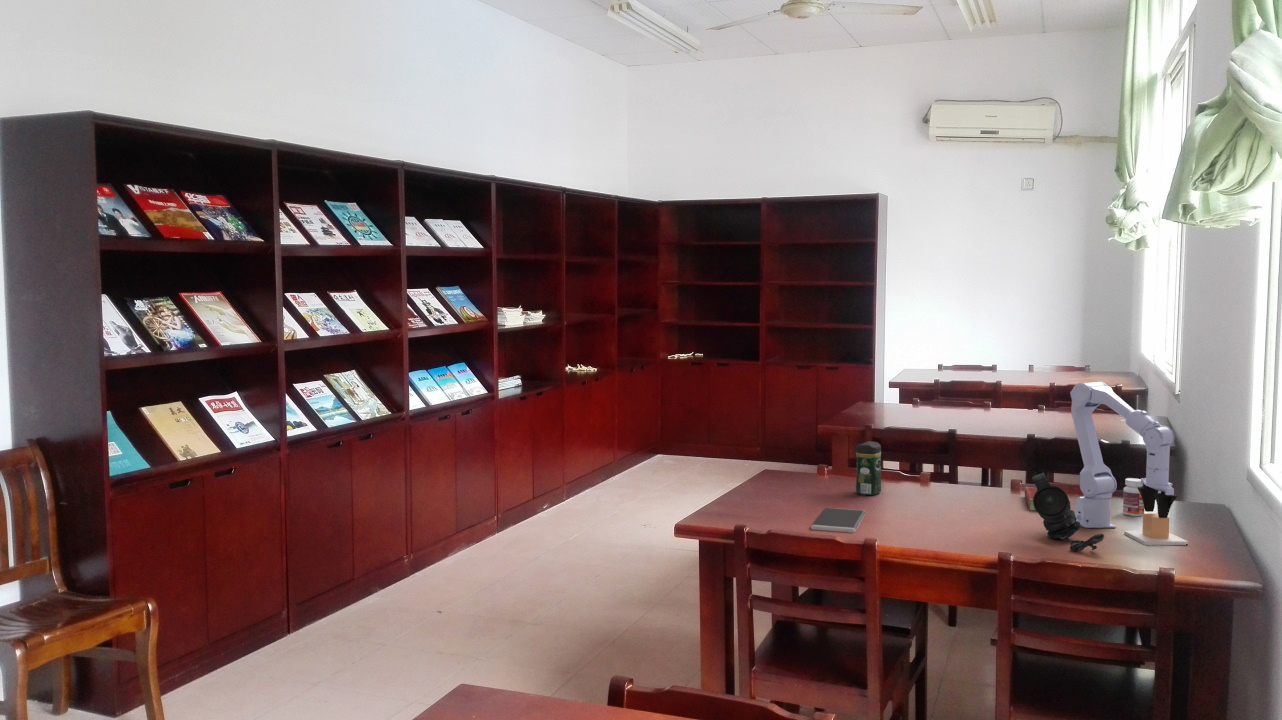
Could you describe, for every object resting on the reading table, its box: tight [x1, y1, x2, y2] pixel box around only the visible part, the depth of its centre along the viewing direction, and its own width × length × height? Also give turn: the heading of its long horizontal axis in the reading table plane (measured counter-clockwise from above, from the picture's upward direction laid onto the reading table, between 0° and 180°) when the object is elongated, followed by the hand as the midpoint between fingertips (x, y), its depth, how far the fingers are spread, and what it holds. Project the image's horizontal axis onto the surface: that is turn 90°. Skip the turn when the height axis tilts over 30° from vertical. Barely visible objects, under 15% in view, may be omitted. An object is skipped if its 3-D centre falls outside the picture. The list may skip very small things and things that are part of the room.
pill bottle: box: [1122, 477, 1145, 517], centre depth 305 cm, size 6×6×11 cm
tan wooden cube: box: [1141, 513, 1170, 538], centre depth 274 cm, size 5×5×6 cm
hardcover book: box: [1024, 486, 1037, 511], centre depth 320 cm, size 12×21×4 cm, turn 161°
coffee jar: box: [855, 440, 882, 496], centre depth 339 cm, size 10×8×19 cm
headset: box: [1031, 472, 1105, 552], centre depth 274 cm, size 18×14×29 cm
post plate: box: [1123, 530, 1189, 546], centre depth 274 cm, size 12×12×4 cm
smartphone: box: [810, 507, 866, 534], centre depth 299 cm, size 13×27×2 cm, turn 160°
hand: (1155, 514), depth 274 cm, fingers open, 7 cm apart
